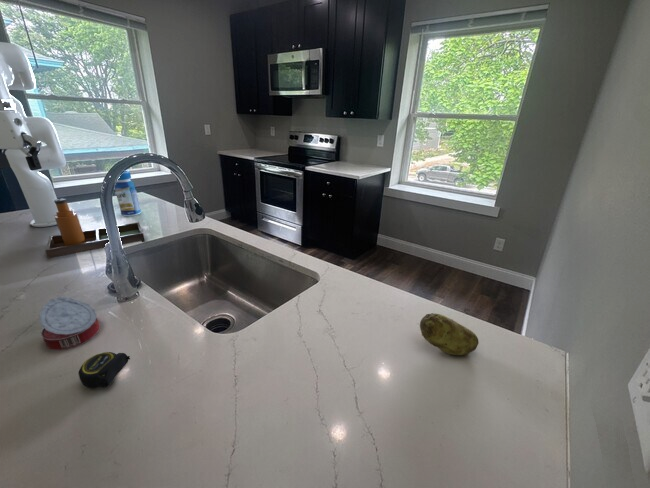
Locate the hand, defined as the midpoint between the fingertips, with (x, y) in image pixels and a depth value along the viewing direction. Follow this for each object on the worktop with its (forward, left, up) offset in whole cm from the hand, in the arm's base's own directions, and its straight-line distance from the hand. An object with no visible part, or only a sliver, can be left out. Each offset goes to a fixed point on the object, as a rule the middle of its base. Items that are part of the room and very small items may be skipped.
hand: (20, 168), depth 89 cm
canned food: (+50, +7, -30) cm, 59 cm away
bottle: (-5, +6, -29) cm, 30 cm away
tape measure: (+68, +13, -30) cm, 75 cm away
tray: (-5, +13, -30) cm, 33 cm away
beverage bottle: (-36, +26, -30) cm, 54 cm away
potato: (+101, +77, -30) cm, 130 cm away
